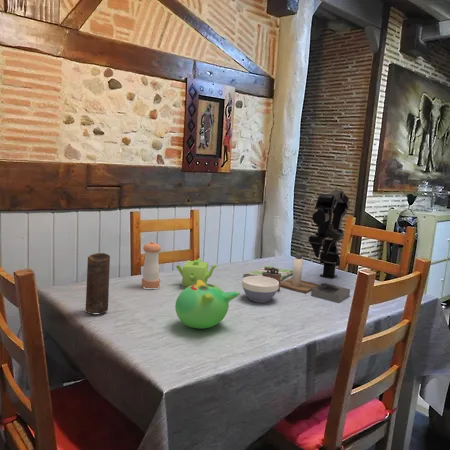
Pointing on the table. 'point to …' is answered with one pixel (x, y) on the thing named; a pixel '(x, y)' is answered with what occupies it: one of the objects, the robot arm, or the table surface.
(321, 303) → the table surface
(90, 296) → the candle
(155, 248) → the pepper shaker
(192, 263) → the kettle
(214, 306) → the toy bird
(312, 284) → the board
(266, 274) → the lighter
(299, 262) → the white bottle
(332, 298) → the housing
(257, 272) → the dish towel
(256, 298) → the bowl
